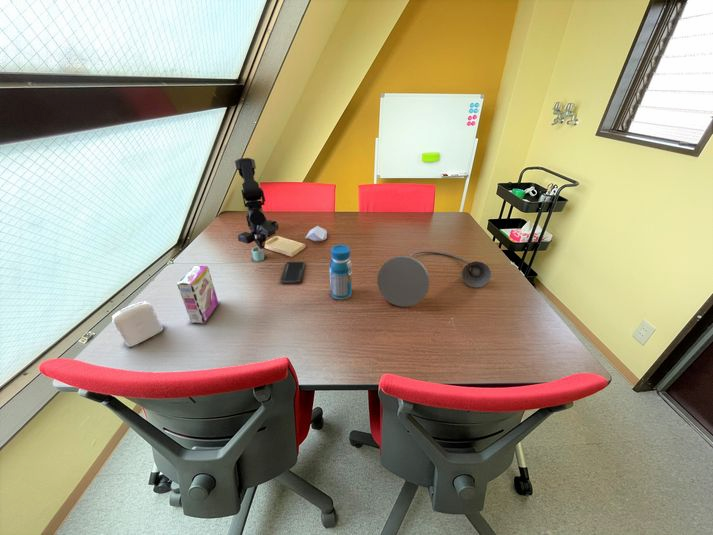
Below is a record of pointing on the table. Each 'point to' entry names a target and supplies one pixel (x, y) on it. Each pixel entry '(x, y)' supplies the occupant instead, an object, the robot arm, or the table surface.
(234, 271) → the table surface
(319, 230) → the crumpled paper
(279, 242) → the tray
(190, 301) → the candy bar box
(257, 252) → the cup
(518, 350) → the table surface
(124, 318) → the photo printer
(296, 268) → the phone
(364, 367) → the table surface
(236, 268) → the table surface
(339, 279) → the beverage bottle
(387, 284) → the desk lamp
